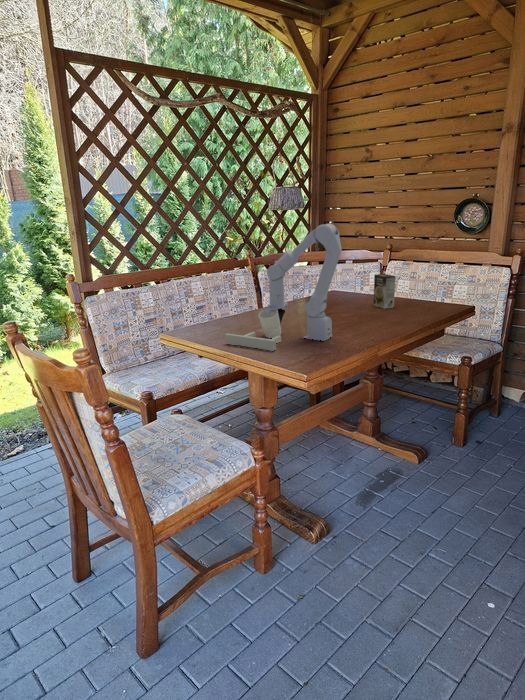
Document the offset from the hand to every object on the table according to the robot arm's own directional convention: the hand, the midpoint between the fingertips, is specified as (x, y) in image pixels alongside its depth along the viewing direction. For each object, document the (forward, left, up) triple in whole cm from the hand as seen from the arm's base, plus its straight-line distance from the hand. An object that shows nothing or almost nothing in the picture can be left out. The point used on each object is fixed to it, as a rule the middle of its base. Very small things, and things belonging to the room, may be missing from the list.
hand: (277, 327), depth 194 cm
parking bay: (0, +14, -3) cm, 14 cm away
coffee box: (-20, -71, -3) cm, 74 cm away
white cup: (0, +3, -2) cm, 4 cm away
